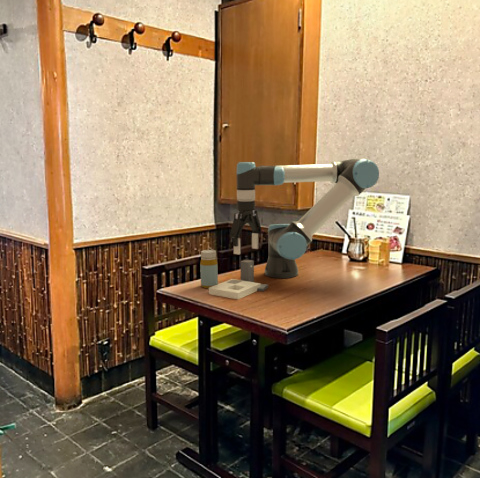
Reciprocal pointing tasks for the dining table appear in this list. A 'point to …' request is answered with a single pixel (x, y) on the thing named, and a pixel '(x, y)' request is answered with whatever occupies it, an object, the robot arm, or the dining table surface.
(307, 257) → the dining table surface
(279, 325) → the dining table surface
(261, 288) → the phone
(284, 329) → the dining table surface
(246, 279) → the block
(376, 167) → the robot arm
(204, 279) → the bottle
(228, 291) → the plate
